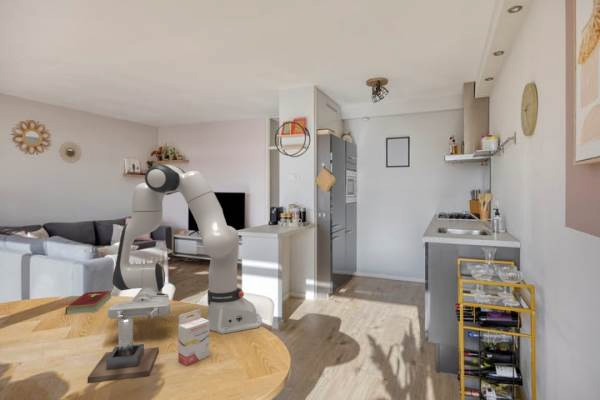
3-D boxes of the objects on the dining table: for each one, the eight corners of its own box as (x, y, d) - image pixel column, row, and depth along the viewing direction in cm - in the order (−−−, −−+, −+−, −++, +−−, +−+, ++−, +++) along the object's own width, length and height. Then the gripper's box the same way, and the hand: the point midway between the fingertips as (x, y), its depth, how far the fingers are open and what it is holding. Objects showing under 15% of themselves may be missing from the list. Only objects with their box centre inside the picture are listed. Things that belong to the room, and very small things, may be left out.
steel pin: (135, 357, 105) (134, 316, 105) (131, 363, 102) (130, 321, 101) (121, 358, 105) (120, 317, 104) (117, 365, 101) (116, 322, 100)
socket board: (158, 351, 112) (158, 347, 112) (148, 375, 98) (148, 370, 98) (106, 356, 109) (105, 352, 109) (87, 382, 94) (87, 377, 94)
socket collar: (144, 353, 108) (144, 343, 108) (137, 366, 100) (137, 356, 100) (115, 356, 106) (115, 346, 106) (106, 369, 98) (106, 359, 98)
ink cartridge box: (186, 366, 103) (186, 319, 102) (177, 361, 106) (177, 315, 105) (210, 355, 109) (209, 311, 109) (201, 351, 112) (200, 307, 112)
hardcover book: (65, 315, 146) (65, 306, 146) (85, 300, 166) (85, 291, 166) (96, 313, 148) (95, 304, 148) (112, 298, 169) (111, 290, 169)
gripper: (114, 297, 125) (100, 310, 111) (172, 293, 129) (166, 305, 116) (114, 314, 125) (101, 329, 111) (172, 309, 129) (166, 323, 116)
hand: (135, 317), depth 114 cm, fingers open, 8 cm apart
